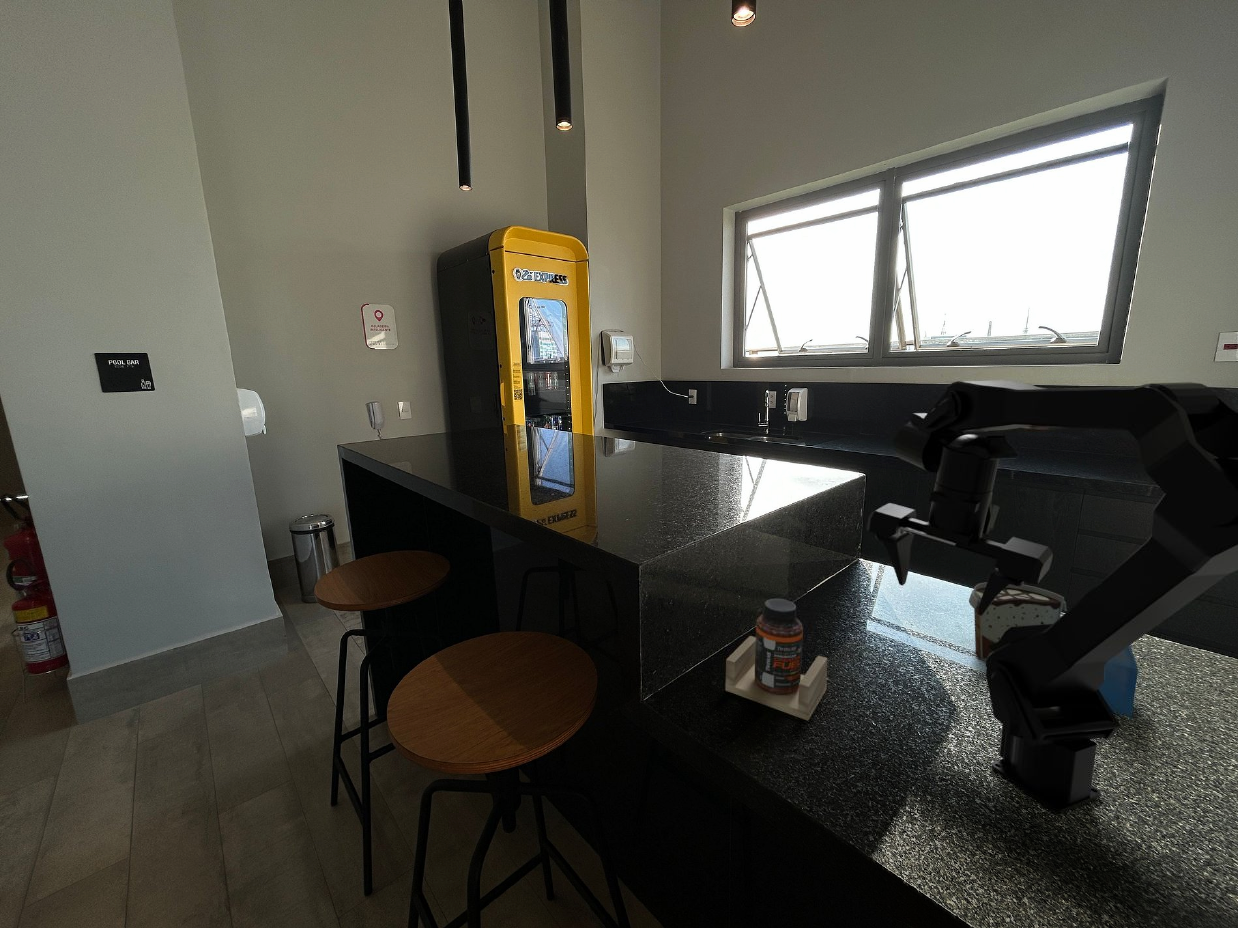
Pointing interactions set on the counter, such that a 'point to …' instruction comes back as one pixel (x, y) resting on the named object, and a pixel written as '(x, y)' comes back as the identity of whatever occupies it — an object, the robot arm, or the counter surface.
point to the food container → (1012, 612)
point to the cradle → (795, 703)
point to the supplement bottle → (778, 648)
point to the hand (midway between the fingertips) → (939, 598)
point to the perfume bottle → (1120, 682)
